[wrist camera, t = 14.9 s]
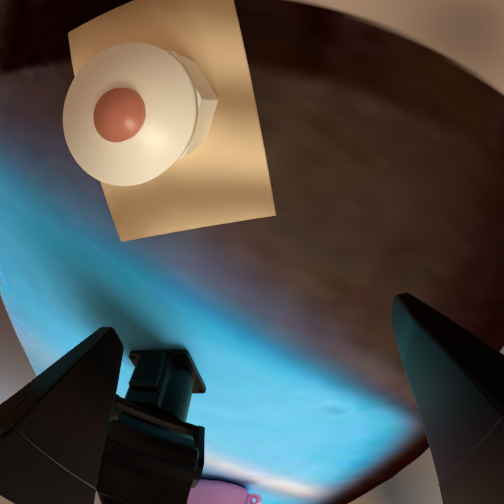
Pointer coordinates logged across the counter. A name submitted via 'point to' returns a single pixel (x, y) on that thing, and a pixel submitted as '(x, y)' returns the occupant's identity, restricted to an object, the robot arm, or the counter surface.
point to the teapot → (220, 493)
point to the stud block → (221, 130)
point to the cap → (136, 112)
